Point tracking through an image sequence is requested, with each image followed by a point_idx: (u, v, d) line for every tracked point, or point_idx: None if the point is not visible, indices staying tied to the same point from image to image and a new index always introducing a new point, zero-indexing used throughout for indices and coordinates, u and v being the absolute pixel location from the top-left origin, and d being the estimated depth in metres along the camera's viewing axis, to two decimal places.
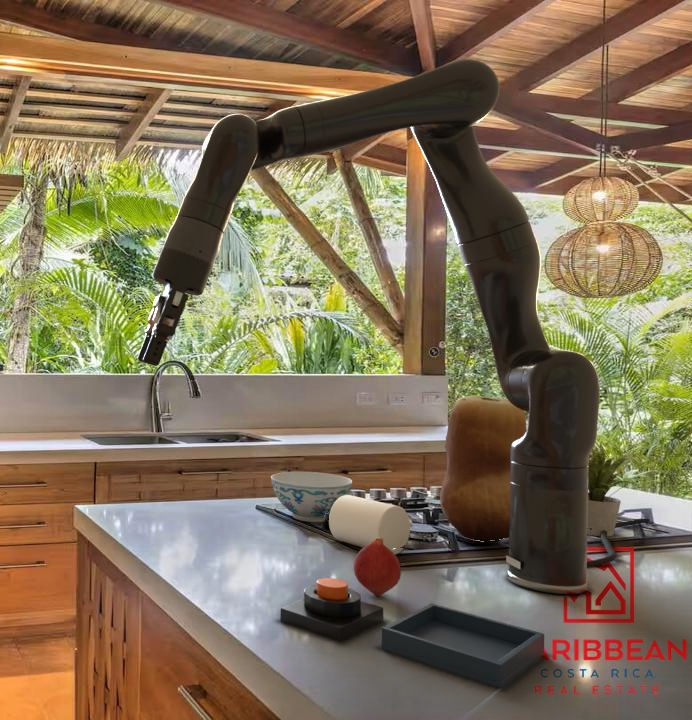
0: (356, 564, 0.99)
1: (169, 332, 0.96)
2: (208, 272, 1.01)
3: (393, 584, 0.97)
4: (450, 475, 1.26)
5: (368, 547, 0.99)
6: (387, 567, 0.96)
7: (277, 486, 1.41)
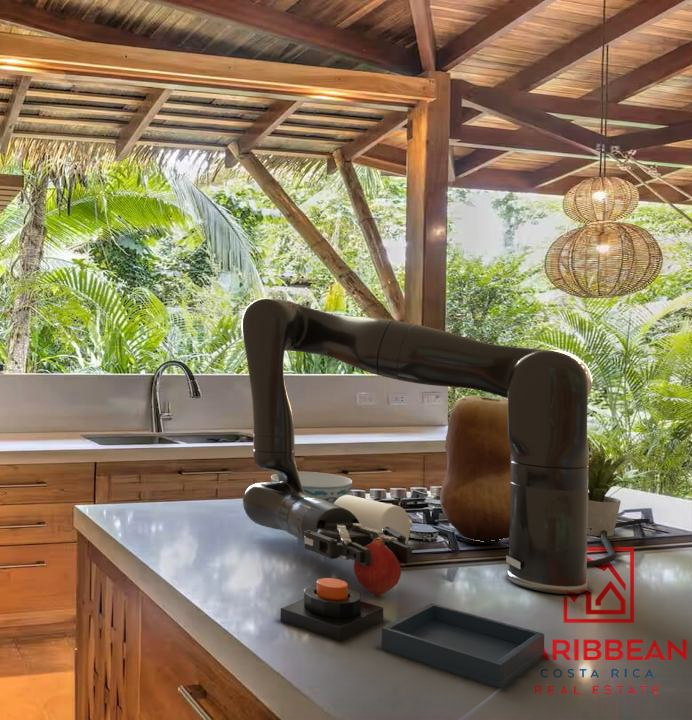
0: (356, 564, 0.99)
1: (329, 545, 1.00)
2: (316, 507, 1.11)
3: (393, 584, 0.97)
4: (450, 475, 1.26)
5: (368, 548, 0.99)
6: (387, 567, 0.96)
7: None
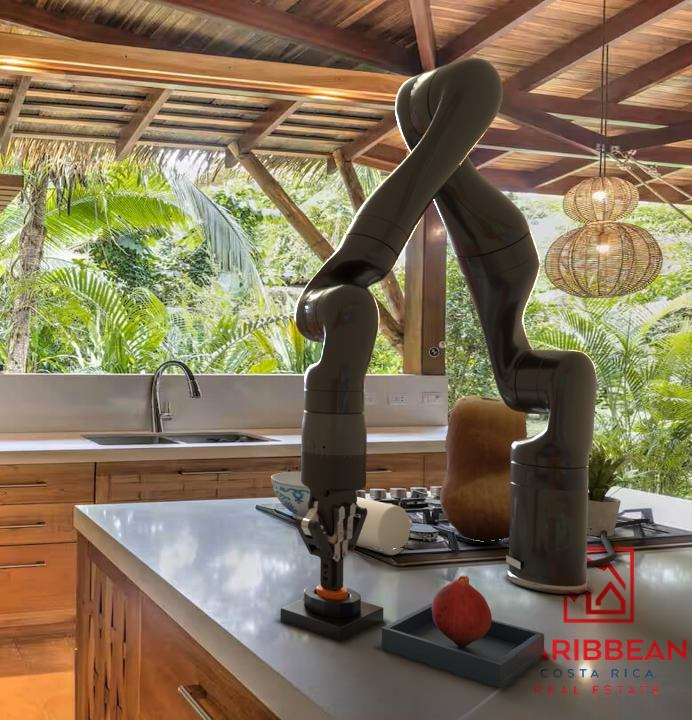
0: (435, 608, 0.81)
1: (322, 555, 0.87)
2: (350, 464, 0.86)
3: (483, 634, 0.79)
4: (450, 475, 1.26)
5: (450, 588, 0.81)
6: (477, 613, 0.79)
7: (277, 486, 1.41)
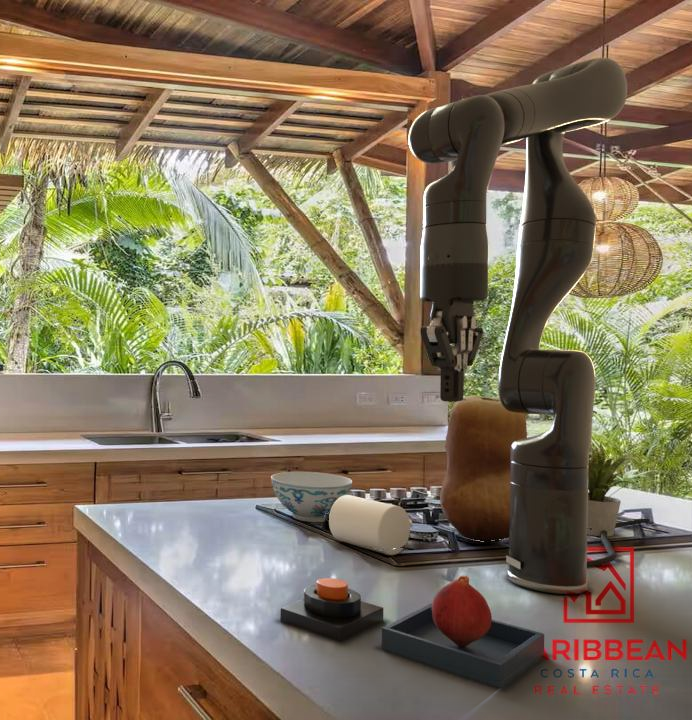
0: (435, 608, 0.81)
1: (446, 363, 0.90)
2: (475, 272, 0.88)
3: (483, 634, 0.79)
4: (450, 475, 1.26)
5: (450, 588, 0.81)
6: (477, 613, 0.79)
7: (277, 486, 1.41)
